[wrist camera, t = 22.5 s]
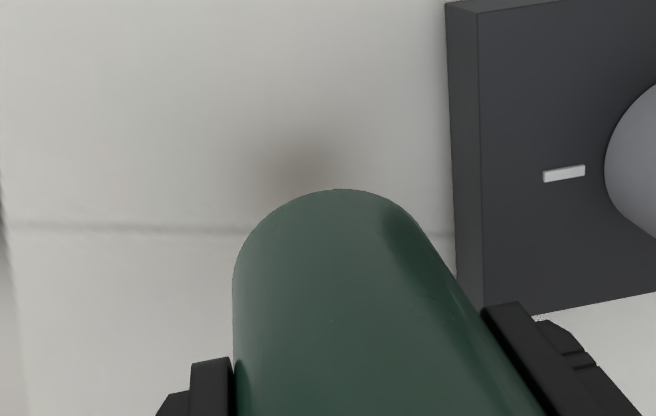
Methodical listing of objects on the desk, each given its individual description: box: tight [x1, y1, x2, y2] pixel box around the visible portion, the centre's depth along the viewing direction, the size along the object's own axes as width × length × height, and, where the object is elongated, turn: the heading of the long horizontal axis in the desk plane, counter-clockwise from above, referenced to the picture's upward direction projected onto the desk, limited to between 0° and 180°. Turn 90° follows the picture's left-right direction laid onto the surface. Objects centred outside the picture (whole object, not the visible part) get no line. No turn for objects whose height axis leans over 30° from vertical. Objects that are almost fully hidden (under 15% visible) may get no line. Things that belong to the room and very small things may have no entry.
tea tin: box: [232, 189, 547, 416], centre depth 12 cm, size 5×5×8 cm
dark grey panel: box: [445, 0, 656, 316], centre depth 22 cm, size 14×11×3 cm
